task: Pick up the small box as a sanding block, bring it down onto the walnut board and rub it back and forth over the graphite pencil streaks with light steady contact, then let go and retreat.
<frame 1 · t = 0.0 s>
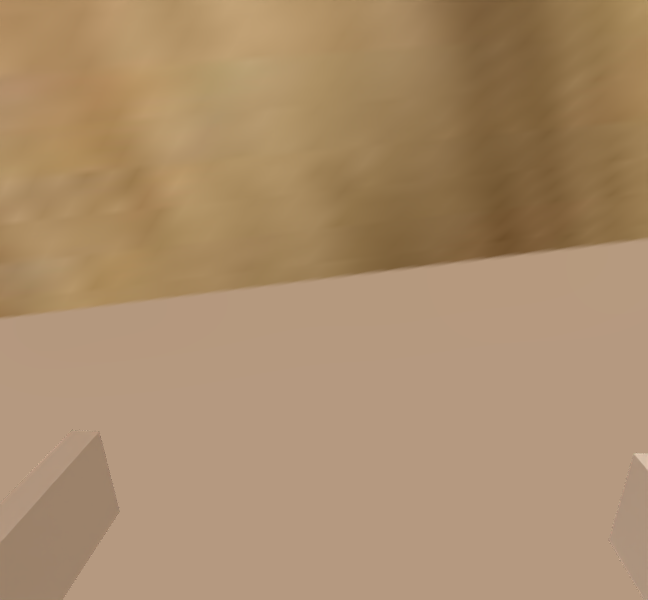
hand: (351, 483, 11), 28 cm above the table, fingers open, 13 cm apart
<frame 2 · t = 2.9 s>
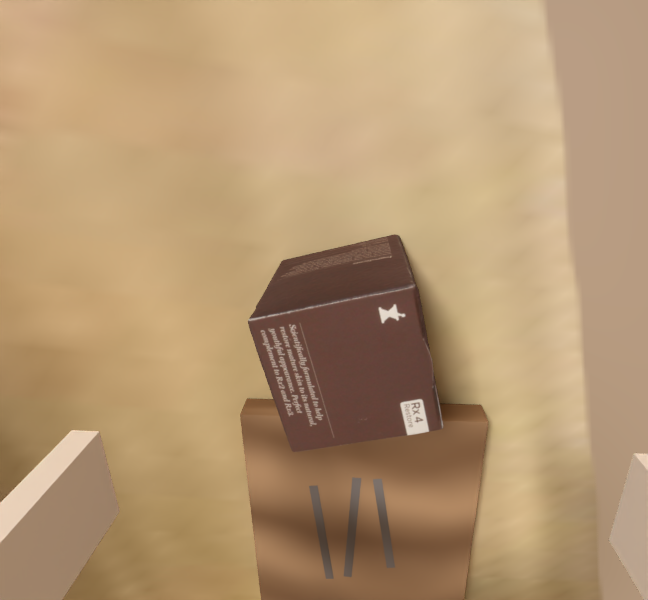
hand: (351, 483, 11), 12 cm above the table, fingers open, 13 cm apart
box: (352, 299, 22), on the table
board: (360, 509, 27), on the table
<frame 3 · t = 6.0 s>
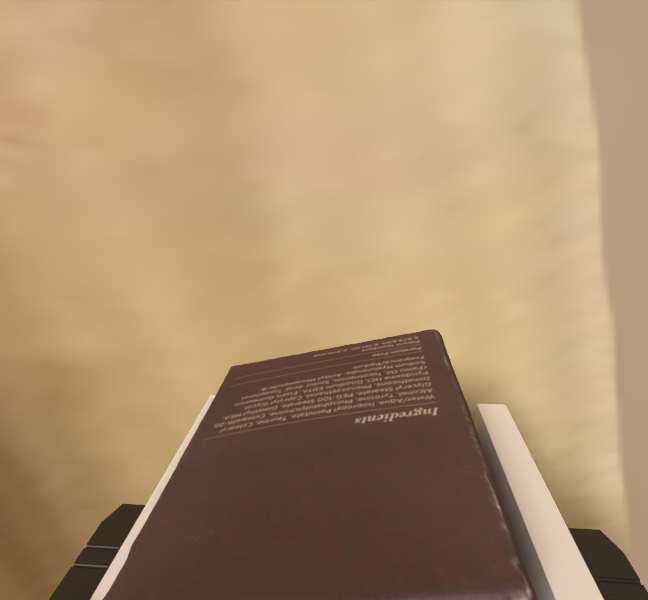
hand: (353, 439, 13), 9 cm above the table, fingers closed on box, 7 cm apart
box: (353, 426, 13), point 9 cm above the table, touching gripper
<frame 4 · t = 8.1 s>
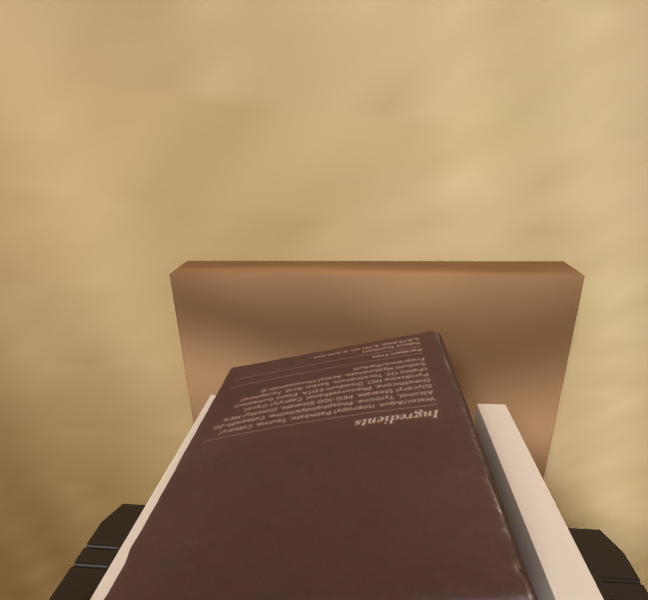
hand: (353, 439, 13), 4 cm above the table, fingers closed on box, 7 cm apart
box: (354, 427, 13), point 4 cm above the table, touching gripper
board: (365, 447, 18), on the table
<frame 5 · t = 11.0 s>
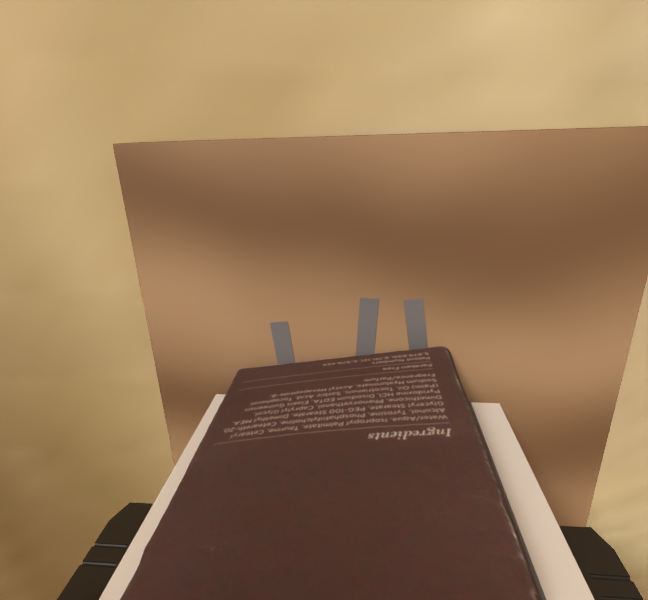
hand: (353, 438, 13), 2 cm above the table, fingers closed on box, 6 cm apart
box: (355, 435, 13), point 1 cm above the table, touching gripper
board: (375, 395, 14), on the table
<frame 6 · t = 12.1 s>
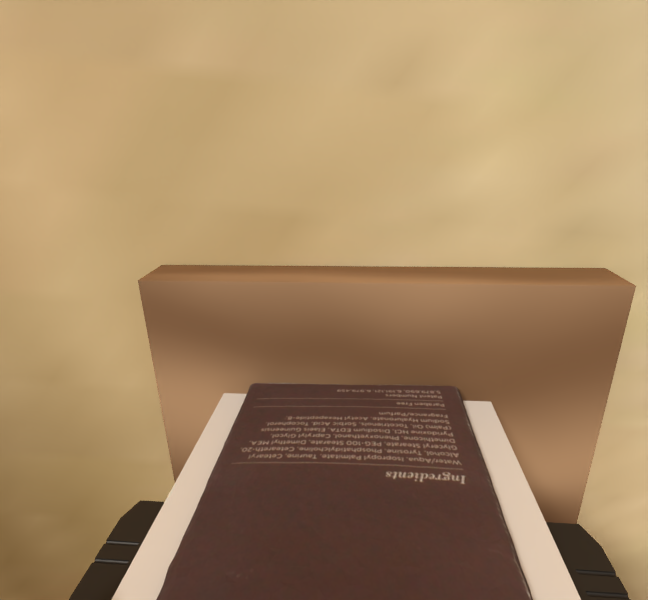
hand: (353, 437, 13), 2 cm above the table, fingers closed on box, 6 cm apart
box: (354, 457, 14), point 1 cm above the table, touching gripper
board: (368, 479, 16), on the table
when the fingers open (2 cm above the table, at t = 14.3 s): box stays where it is, resting on board.
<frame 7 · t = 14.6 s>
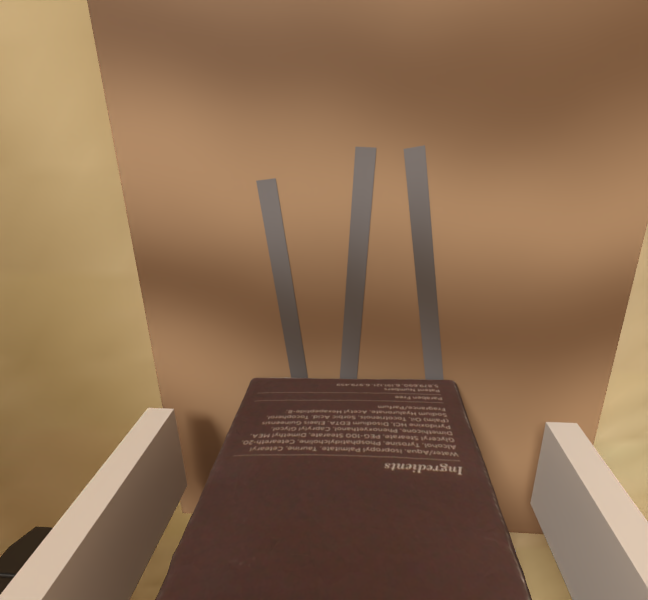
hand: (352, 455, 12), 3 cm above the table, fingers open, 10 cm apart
box: (353, 451, 14), point 1 cm above the table, touching board
board: (372, 284, 13), on the table
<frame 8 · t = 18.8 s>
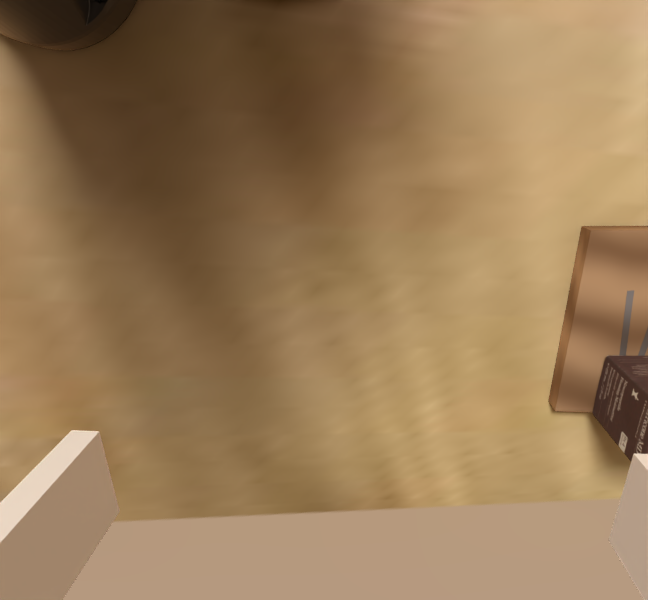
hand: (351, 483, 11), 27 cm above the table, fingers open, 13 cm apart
box: (633, 383, 37), point 1 cm above the table, touching board
board: (645, 321, 36), on the table
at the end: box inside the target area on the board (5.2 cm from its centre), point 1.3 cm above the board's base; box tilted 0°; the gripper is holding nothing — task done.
